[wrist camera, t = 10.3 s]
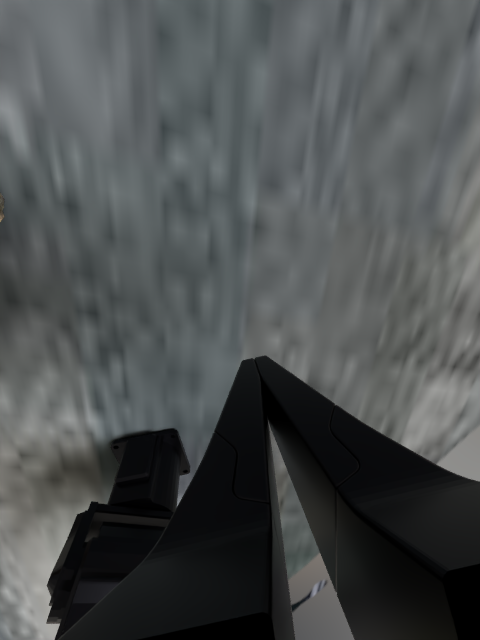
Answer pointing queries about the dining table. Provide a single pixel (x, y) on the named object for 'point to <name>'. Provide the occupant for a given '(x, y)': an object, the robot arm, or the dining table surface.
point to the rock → (1, 207)
